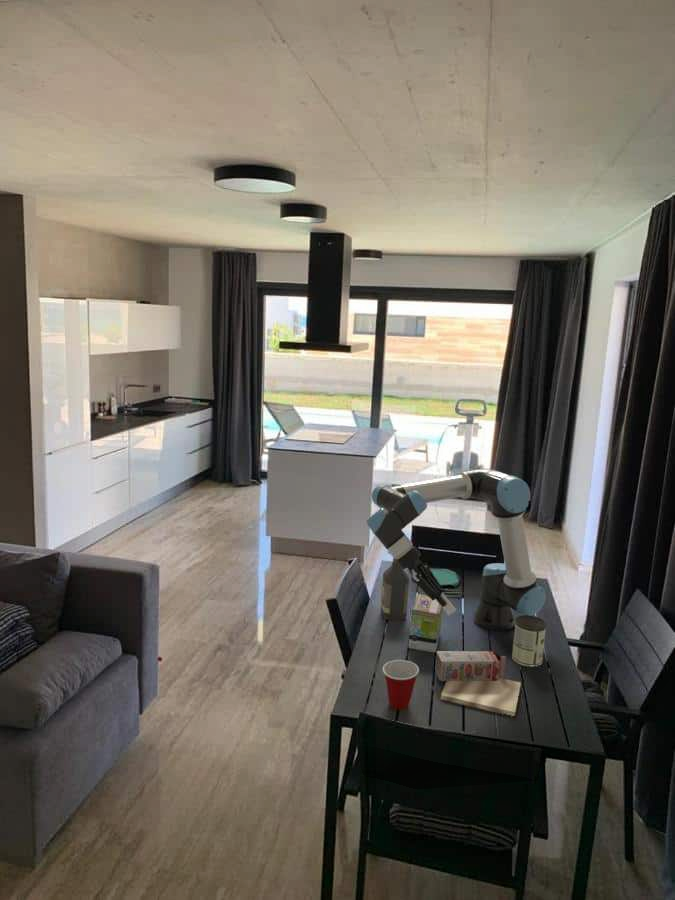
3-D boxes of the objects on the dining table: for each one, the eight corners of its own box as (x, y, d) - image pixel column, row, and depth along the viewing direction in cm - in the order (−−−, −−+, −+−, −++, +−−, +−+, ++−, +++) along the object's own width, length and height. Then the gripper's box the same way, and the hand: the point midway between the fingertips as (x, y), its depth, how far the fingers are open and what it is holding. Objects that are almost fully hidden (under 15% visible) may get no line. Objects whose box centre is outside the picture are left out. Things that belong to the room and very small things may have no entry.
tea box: (436, 653, 232) (440, 613, 230) (407, 648, 235) (410, 609, 232) (440, 634, 247) (443, 596, 244) (413, 630, 249) (416, 592, 246)
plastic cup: (377, 694, 205) (380, 658, 202) (412, 694, 206) (415, 658, 203) (382, 715, 194) (385, 677, 192) (419, 715, 195) (422, 677, 193)
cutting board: (440, 699, 204) (441, 694, 204) (451, 671, 221) (452, 667, 220) (514, 716, 197) (515, 712, 196) (520, 686, 213) (520, 682, 213)
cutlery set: (456, 572, 309) (456, 568, 309) (466, 600, 280) (466, 595, 279) (413, 570, 310) (413, 566, 309) (418, 598, 280) (418, 593, 280)
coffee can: (512, 650, 238) (516, 612, 235) (542, 655, 234) (547, 618, 232) (510, 663, 228) (514, 624, 225) (541, 669, 225) (546, 630, 222)
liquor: (402, 610, 265) (407, 538, 260) (407, 620, 257) (413, 546, 251) (379, 610, 264) (384, 538, 258) (384, 621, 255) (389, 546, 249)
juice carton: (436, 651, 217) (502, 651, 219) (434, 670, 218) (500, 670, 220) (441, 661, 210) (509, 661, 212) (439, 681, 211) (507, 680, 214)
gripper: (400, 552, 217) (446, 610, 215) (390, 565, 205) (439, 627, 203) (417, 539, 215) (464, 598, 213) (408, 552, 203) (458, 614, 201)
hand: (452, 612), depth 208 cm, fingers closed
